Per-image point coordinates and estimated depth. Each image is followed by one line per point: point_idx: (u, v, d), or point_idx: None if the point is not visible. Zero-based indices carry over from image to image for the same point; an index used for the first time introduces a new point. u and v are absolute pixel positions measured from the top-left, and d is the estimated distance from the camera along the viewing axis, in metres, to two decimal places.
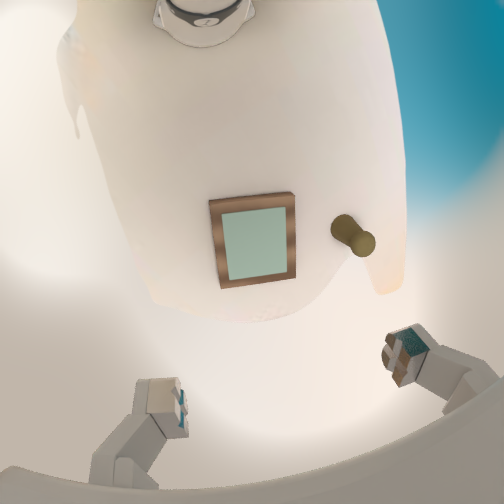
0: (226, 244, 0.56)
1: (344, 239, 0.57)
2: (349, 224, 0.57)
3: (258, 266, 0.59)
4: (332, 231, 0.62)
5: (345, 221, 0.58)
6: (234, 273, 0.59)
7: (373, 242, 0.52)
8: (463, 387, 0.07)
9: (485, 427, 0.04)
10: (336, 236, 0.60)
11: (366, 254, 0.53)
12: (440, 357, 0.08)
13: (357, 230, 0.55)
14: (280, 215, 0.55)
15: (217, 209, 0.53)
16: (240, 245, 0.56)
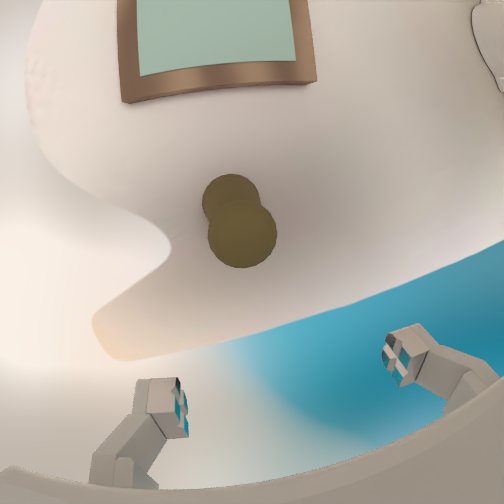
0: None
1: (229, 194, 0.24)
2: None
3: (160, 16, 0.18)
4: (223, 177, 0.29)
5: None
6: None
7: (258, 259, 0.22)
8: (463, 387, 0.07)
9: (485, 427, 0.04)
10: (219, 184, 0.27)
11: (223, 246, 0.21)
12: (440, 357, 0.08)
13: None
14: (278, 50, 0.21)
15: None
16: None
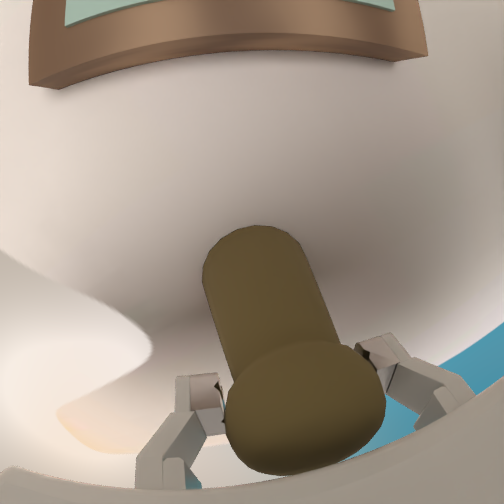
0: None
1: (267, 300, 0.10)
2: None
3: None
4: (242, 233, 0.15)
5: (316, 282, 0.14)
6: None
7: None
8: (433, 404, 0.07)
9: (485, 427, 0.04)
10: (237, 254, 0.13)
11: (268, 467, 0.07)
12: (410, 370, 0.08)
13: None
14: None
15: None
16: None
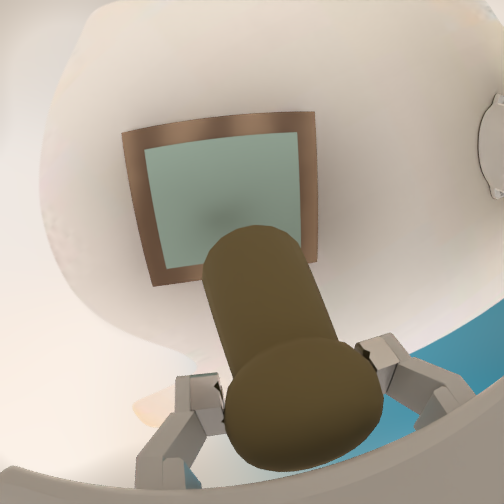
0: (231, 139, 0.25)
1: (267, 298, 0.11)
2: (322, 300, 0.13)
3: (177, 210, 0.26)
4: (242, 232, 0.15)
5: (314, 281, 0.14)
6: (161, 160, 0.24)
7: (336, 458, 0.08)
8: (433, 404, 0.07)
9: (485, 427, 0.04)
10: (237, 253, 0.14)
11: (267, 462, 0.07)
12: (411, 370, 0.08)
13: None
14: None
15: (305, 125, 0.25)
16: (228, 168, 0.26)
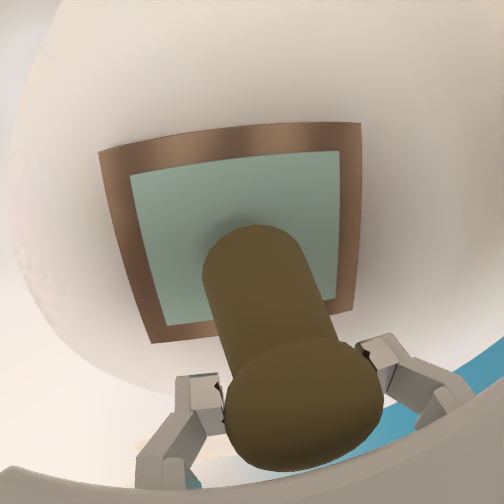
0: (251, 161, 0.18)
1: (267, 298, 0.11)
2: (322, 299, 0.13)
3: (178, 256, 0.20)
4: (242, 231, 0.15)
5: (314, 280, 0.14)
6: (153, 190, 0.18)
7: (336, 458, 0.08)
8: (433, 404, 0.07)
9: (485, 427, 0.04)
10: (237, 253, 0.14)
11: (267, 462, 0.07)
12: (411, 370, 0.08)
13: None
14: None
15: (349, 142, 0.19)
16: (246, 201, 0.19)
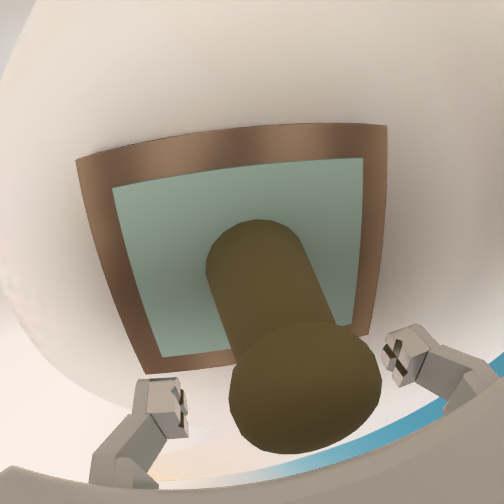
0: (260, 169, 0.15)
1: (269, 286, 0.11)
2: None
3: (172, 283, 0.17)
4: (244, 226, 0.15)
5: (314, 272, 0.15)
6: (140, 206, 0.15)
7: (337, 441, 0.08)
8: (463, 387, 0.07)
9: (485, 427, 0.04)
10: (239, 245, 0.14)
11: (271, 442, 0.07)
12: (440, 357, 0.08)
13: None
14: None
15: (373, 147, 0.16)
16: (253, 218, 0.16)
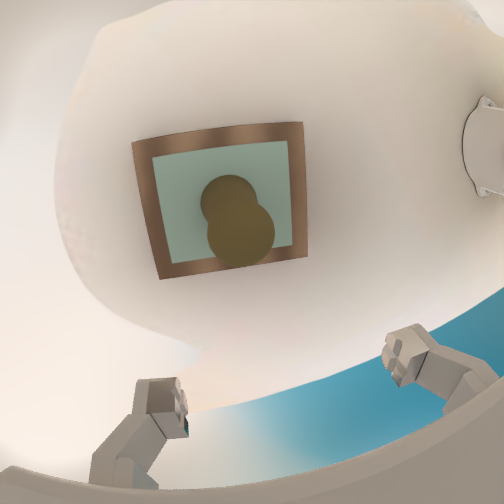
0: (229, 148, 0.28)
1: (228, 194, 0.25)
2: None
3: (182, 210, 0.30)
4: (221, 177, 0.29)
5: (256, 198, 0.28)
6: (167, 167, 0.28)
7: (256, 258, 0.22)
8: (463, 387, 0.07)
9: (485, 427, 0.04)
10: (217, 184, 0.28)
11: (222, 245, 0.21)
12: (440, 357, 0.08)
13: None
14: (278, 239, 0.33)
15: (294, 134, 0.29)
16: (226, 174, 0.29)
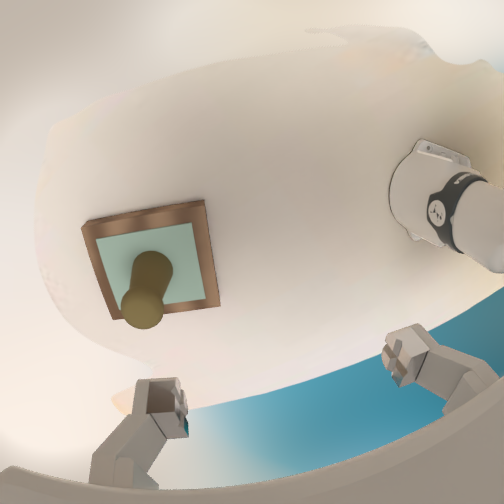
0: (147, 232, 0.37)
1: (139, 276, 0.34)
2: (163, 278, 0.36)
3: (120, 275, 0.39)
4: (143, 253, 0.38)
5: (166, 272, 0.37)
6: (106, 246, 0.37)
7: (150, 325, 0.31)
8: (463, 387, 0.07)
9: (485, 427, 0.04)
10: (138, 261, 0.37)
11: (127, 317, 0.30)
12: (440, 357, 0.08)
13: (160, 293, 0.33)
14: (194, 294, 0.43)
15: (198, 217, 0.38)
16: (147, 250, 0.38)
